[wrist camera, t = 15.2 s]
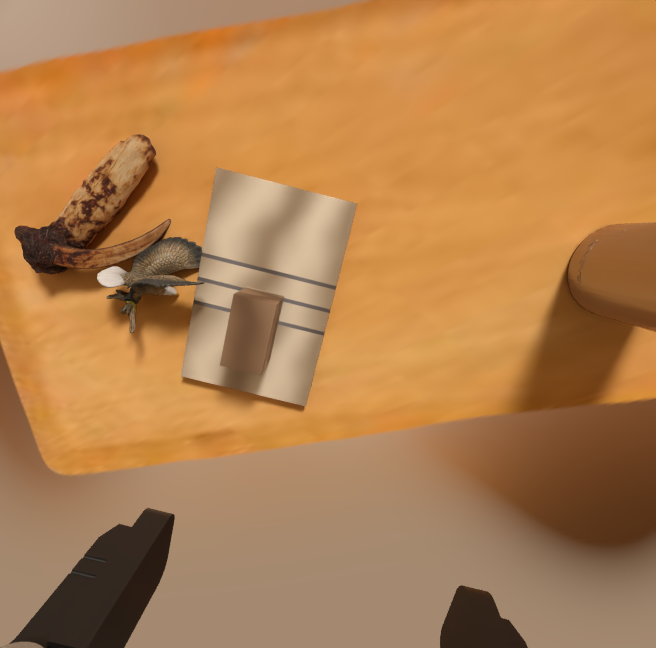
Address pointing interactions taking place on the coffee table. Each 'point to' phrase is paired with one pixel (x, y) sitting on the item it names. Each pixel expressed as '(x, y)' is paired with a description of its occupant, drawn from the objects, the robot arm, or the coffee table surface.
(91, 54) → the coffee table surface
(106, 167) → the lashed bone hook
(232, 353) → the block
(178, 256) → the eagle figurine
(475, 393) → the coffee table surface
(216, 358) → the birch board
